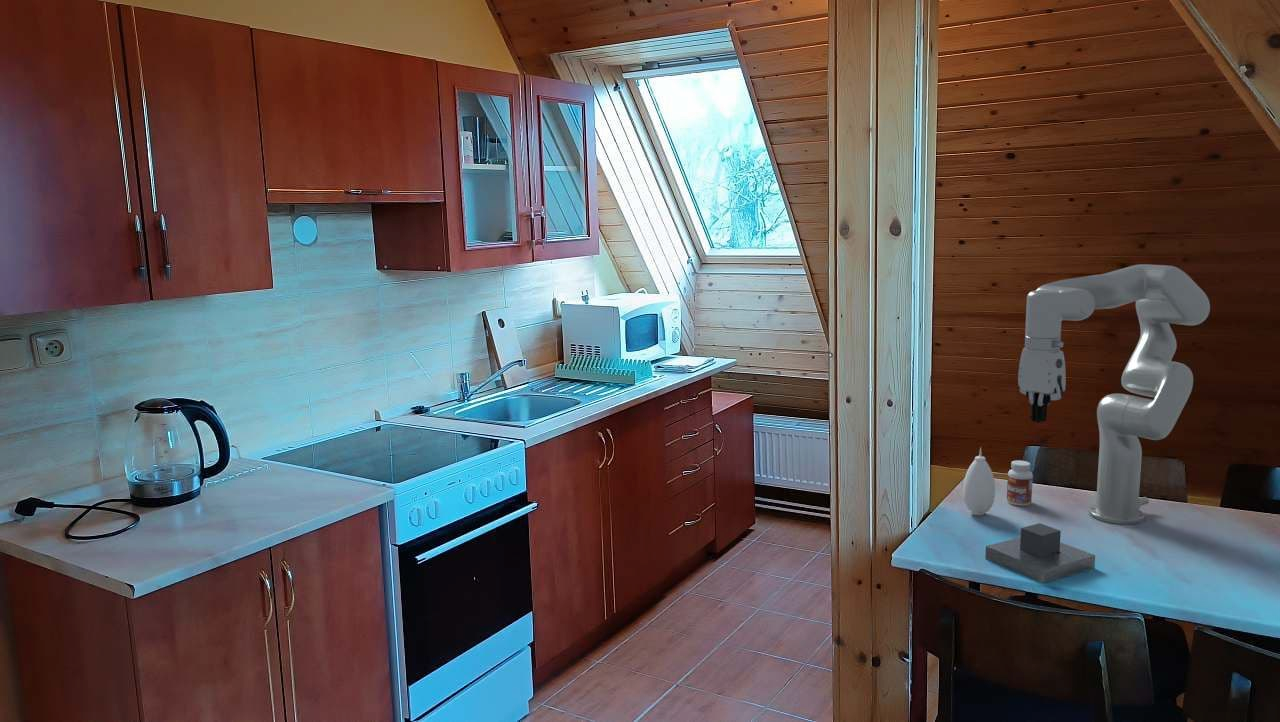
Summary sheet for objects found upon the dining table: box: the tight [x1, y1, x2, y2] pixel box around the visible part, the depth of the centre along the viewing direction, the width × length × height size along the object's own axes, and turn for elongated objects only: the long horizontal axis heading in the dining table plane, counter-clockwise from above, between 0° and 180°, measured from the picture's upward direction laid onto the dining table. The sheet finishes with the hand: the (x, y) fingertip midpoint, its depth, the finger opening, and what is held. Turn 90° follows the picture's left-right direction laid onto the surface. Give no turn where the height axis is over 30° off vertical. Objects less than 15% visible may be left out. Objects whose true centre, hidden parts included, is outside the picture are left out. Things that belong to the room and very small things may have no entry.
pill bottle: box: [1006, 459, 1034, 507], centre depth 247 cm, size 6×6×11 cm
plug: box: [1020, 522, 1062, 557], centre depth 208 cm, size 6×6×8 cm
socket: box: [984, 536, 1096, 584], centre depth 208 cm, size 16×16×4 cm
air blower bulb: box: [962, 446, 996, 517], centre depth 239 cm, size 8×8×18 cm
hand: (1038, 420), depth 218 cm, fingers closed
